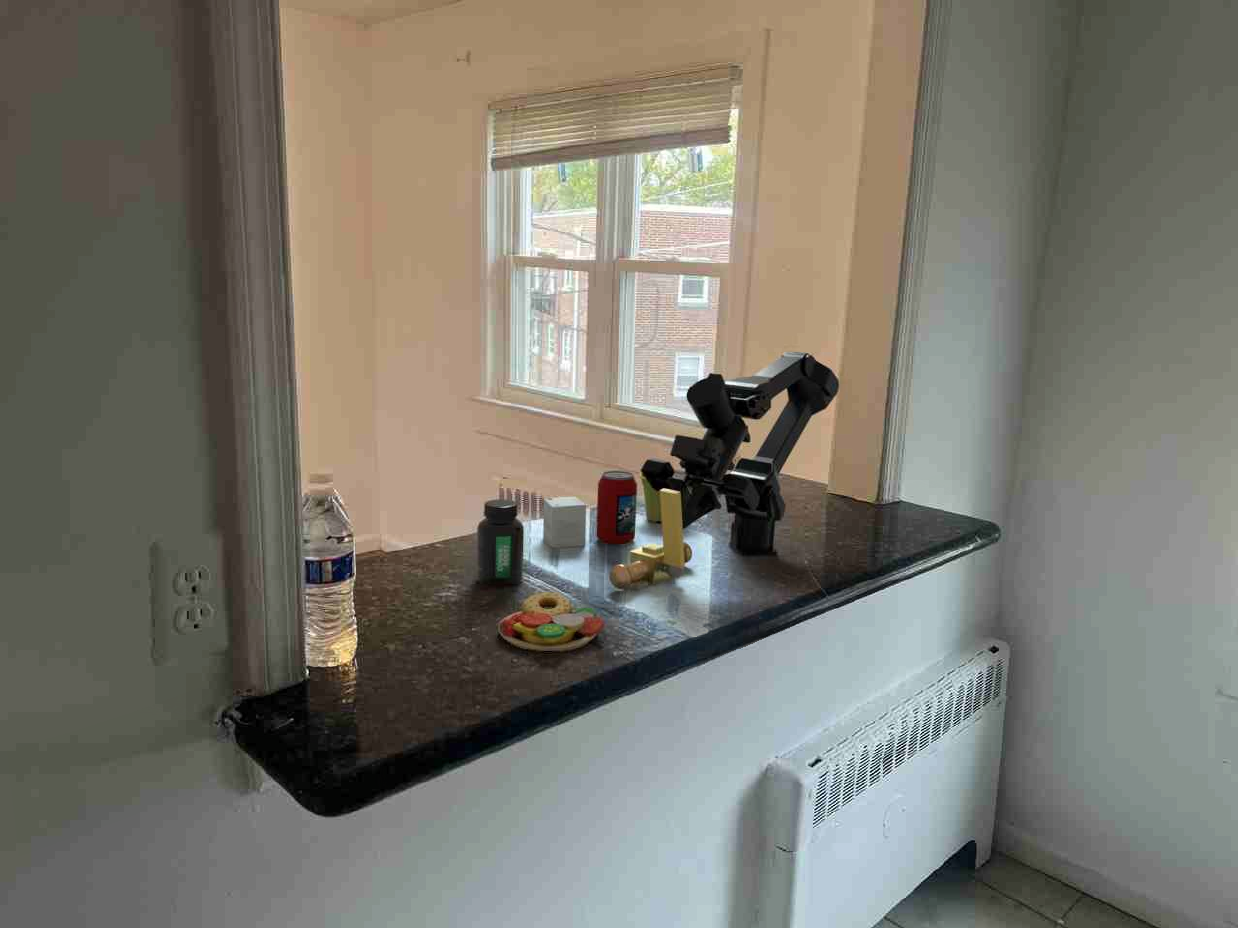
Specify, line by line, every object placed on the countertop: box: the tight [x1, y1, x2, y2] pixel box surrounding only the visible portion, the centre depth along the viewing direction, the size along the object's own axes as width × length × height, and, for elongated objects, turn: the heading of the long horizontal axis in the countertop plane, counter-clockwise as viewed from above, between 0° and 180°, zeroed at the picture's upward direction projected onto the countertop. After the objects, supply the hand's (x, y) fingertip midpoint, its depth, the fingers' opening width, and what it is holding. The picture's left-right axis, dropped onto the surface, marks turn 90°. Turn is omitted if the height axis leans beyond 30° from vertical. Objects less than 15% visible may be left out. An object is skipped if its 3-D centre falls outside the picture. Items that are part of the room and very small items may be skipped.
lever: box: [660, 488, 686, 579], centre depth 133 cm, size 2×3×14 cm
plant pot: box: [639, 472, 662, 523], centre depth 171 cm, size 9×9×9 cm
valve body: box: [609, 541, 693, 592], centre depth 138 cm, size 18×5×5 cm, turn 142°
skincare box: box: [542, 496, 587, 549], centre depth 154 cm, size 6×6×7 cm
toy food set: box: [498, 592, 605, 652], centre depth 116 cm, size 13×13×3 cm
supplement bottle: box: [476, 498, 525, 588], centre depth 134 cm, size 7×7×12 cm
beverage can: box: [596, 470, 638, 546], centre depth 155 cm, size 7×7×12 cm
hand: (674, 529), depth 134 cm, fingers closed, pressing on lever
